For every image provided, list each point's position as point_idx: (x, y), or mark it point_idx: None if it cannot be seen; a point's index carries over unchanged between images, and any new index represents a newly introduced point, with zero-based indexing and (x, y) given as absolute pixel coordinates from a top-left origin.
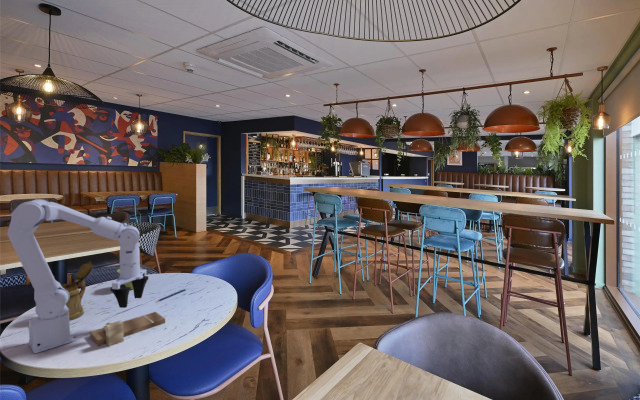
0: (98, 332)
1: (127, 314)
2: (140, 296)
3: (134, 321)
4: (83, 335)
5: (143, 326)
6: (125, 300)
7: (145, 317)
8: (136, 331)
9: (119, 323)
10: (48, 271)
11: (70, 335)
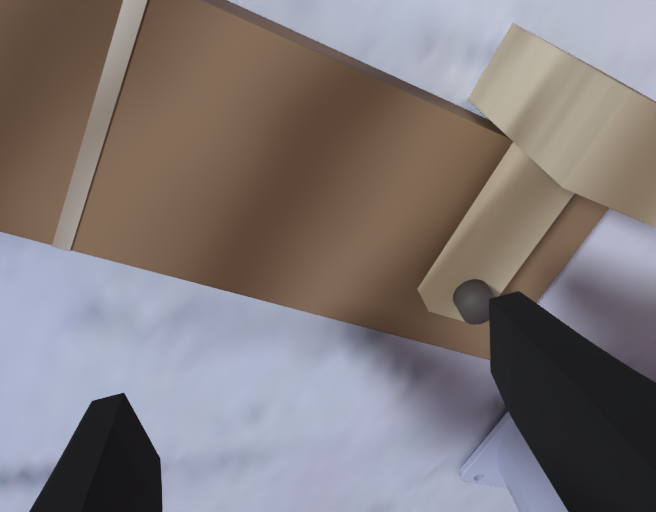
0: None
1: (81, 416)
2: (120, 419)
3: (220, 216)
4: (468, 381)
5: (266, 28)
6: (625, 366)
7: (89, 187)
8: (335, 51)
9: (645, 123)
10: None
11: (509, 426)
